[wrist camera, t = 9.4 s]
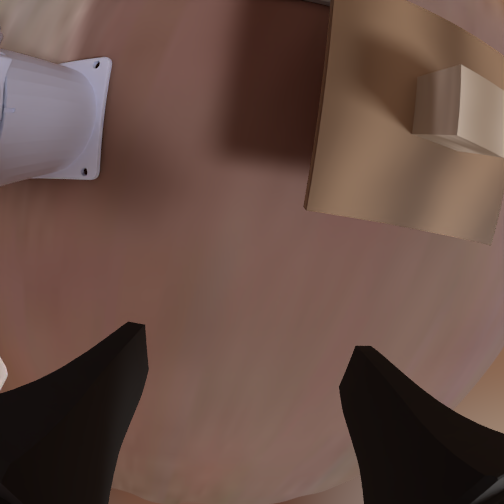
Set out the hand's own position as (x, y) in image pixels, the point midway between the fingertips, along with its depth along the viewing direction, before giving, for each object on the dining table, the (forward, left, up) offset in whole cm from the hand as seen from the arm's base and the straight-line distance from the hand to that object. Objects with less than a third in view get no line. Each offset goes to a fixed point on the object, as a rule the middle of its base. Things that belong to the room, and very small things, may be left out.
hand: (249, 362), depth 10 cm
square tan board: (+8, +10, -6) cm, 14 cm away
